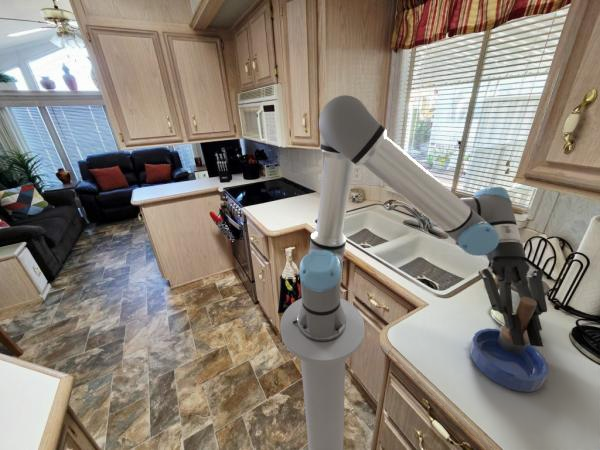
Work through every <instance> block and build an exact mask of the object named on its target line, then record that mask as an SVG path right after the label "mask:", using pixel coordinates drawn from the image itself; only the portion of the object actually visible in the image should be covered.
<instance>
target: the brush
mask: <svg viewBox="0 0 600 450" xmlns="http://www.w3.org/2000/svg"><path fill="white" fill-rule="evenodd" d="M536 306H537V302H536V301H535V300H534V299H532V298H529V297H521V298H520V301H519V304H518V306H517V309H516V311H515V314H518V318H519V322H520V326H521V330H522V334H523V338H524V342H525V346H520V345H514V344H513V341H512V336H511V332H510V329H507V328H506V326H505V325H503V326H502V325H501V327H500V329H499V330H500V335H499V337H498V343H499V345H500V346H501V347H502V348H503V349H505V350H506V351H508V352H510V353H513V354H518V355H520V354H523V353H524V352H525V350H526V347H527V345H529V344H530V341H529V338H528V334H527V332H526V329H527V327H528V324H529V322H530V320H531V317H532V315H533V313H534V310H535V308H536Z"/></svg>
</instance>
